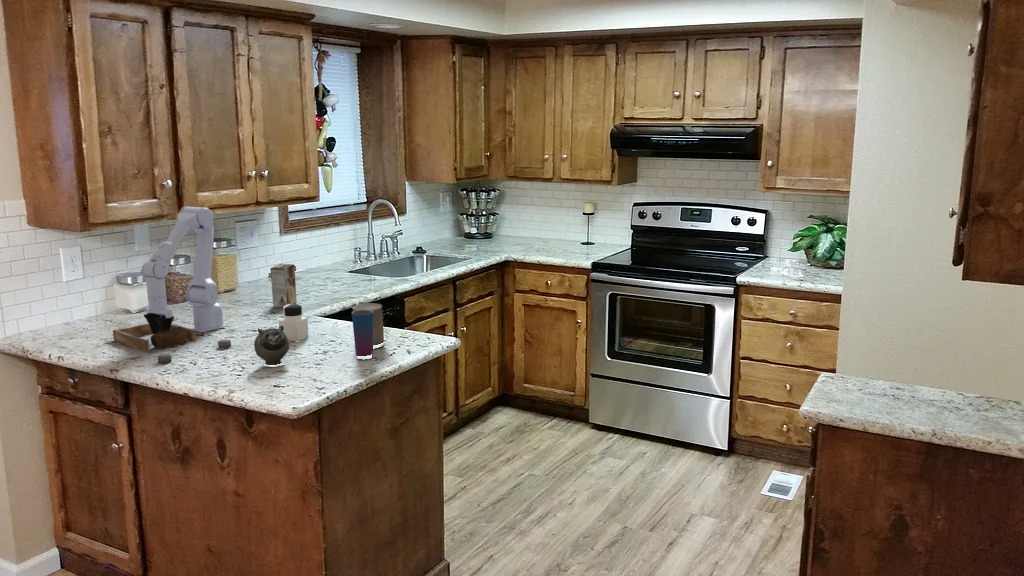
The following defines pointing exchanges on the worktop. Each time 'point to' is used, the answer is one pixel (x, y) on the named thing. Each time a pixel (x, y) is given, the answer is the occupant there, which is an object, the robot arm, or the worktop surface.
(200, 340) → the worktop surface
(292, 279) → the coffee box
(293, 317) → the medicine bottle
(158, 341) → the brick
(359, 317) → the cup
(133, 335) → the wooden frame
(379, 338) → the pillar candle
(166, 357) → the puck left
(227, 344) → the puck right
